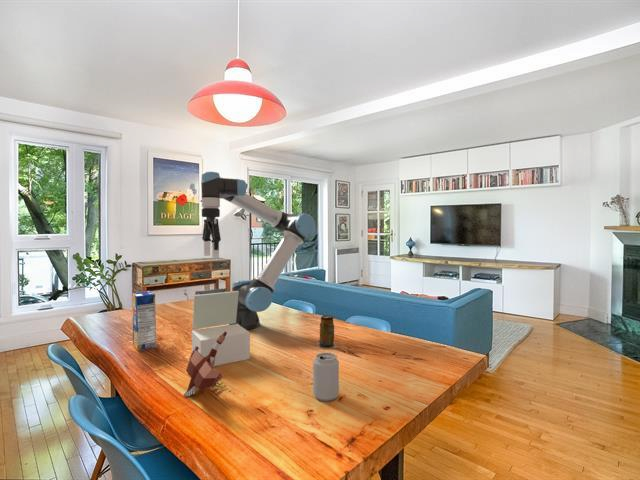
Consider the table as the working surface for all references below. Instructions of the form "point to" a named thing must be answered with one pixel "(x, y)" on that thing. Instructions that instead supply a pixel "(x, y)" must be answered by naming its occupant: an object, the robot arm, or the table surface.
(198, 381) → the decorative bird
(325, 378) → the can
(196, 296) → the lid flap
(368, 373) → the table surface
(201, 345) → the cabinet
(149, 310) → the beverage box
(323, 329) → the condiment
